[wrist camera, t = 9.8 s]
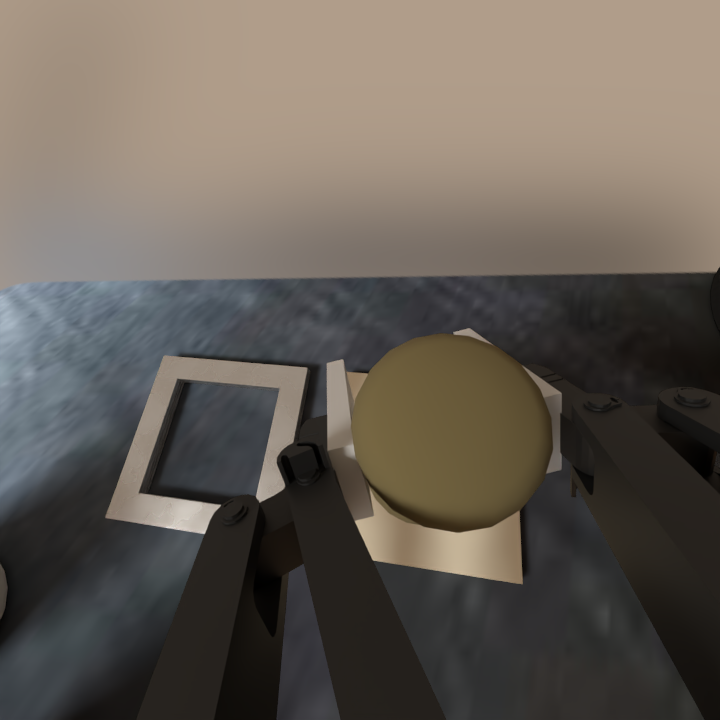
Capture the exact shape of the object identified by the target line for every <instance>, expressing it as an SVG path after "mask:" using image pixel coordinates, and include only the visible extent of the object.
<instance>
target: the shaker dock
mask: <svg viewBox="0 0 720 720" xmlns="http://www.w3.org/2000/svg"><path fill="white" fill-rule="evenodd" d="M310 373H311V372H310V371H309V369H308V368H305V367H293V366H282V365H270V364H258V363H246V362H234V361H222V360H211V359H199V358H187V357H175V356H164V357H163V360H162V362H161V365H160V368H159V371H158V373H157V376H156V379H155V382H154V384H153V387H152V390H151V393H150V395H149V398H148V401H147V404H146V406H145V409H144V412H143V415H142V417H141V420H140V423H139V426H138V428H137V431H136V434H135V437H134V439H133V442H132V445H131V448H130V451H129V453H128V456H127V459H126V462H125V464H124V467H123V470H122V473H121V475H120V478H119V481H118V484H117V486H116V489H115V492H114V495H113V497H112V500H111V503H110V506H109V508H108V511H107V514H106V517H105V518H109V519H115V520H122V521H128V522H134V523H140V524H146V525H153V526H159V527H165V528H171V529H178V530H184V531H190V532H196V533H202V534H205V532H206V530H207V527H208V524H209V521H210V519H211V517H212V516H213V514H214V512H215V511H216V510H217V509H218V508H219V507H220V506H221V505H222V504H217V503H211V502H204V501H197V500H190V499H183V498H177V497H170V496H163V495H156V494H149V493H148V492H149V489H150V486H151V483H152V480H153V477H154V474H155V471H156V468H157V465H158V462H159V459H160V456H161V453H162V450H163V447H164V444H165V441H166V437H167V434H168V431H169V428H170V425H171V422H172V419H173V416H174V413H175V410H176V407H177V404H178V401H179V398H180V395H181V392H182V389H183V386H184V383H195V384H205V385H216V386H226V387H237V388H247V389H257V390H268V391H278V392H279V395H278V400H277V404H276V409H275V413H274V418H273V422H272V427H271V431H270V436H269V440H268V445H267V450H266V454H265V459H264V463H263V468H262V472H261V477H260V481H259V486H258V491H257V495H256V498H257V499H258V500H259V502H262V501H264V500H266V499H268V498H270V497H272V496H274V495H275V494H277V493H279V492H280V491H282V490H283V489H284V488H285V487H286V486H285V483H284V481H283V478H282V476H281V473H280V471H279V468H278V466H277V457H278V455H279V454H280V452H281V451H282V450H283V449H284V448H285V447H287V446H288V445H290V444H292V443H294V442H296V441H298V437H299V431H300V426H301V421H302V415H303V410H304V405H305V400H306V394H307V389H308V384H309V378H310Z"/></svg>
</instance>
